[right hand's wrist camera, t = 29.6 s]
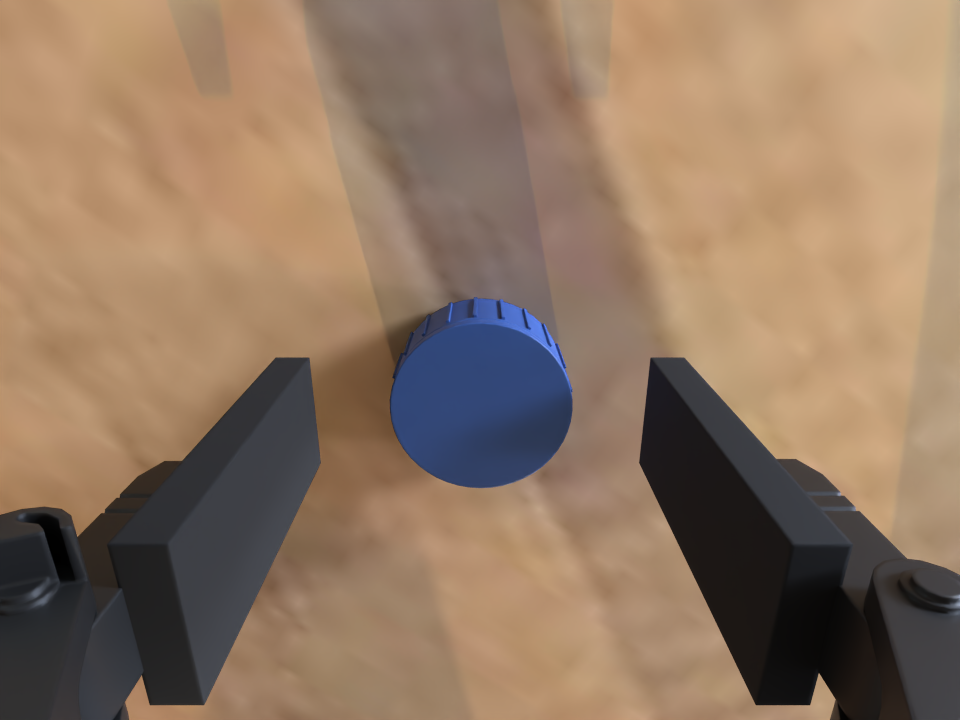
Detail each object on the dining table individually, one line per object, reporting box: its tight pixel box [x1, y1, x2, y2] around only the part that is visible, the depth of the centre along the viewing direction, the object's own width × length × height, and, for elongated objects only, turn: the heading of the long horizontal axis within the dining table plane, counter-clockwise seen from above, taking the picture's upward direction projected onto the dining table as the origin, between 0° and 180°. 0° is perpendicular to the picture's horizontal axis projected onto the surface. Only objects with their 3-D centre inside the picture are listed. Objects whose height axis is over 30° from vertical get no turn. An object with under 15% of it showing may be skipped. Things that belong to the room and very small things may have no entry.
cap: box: [390, 297, 572, 488], centre depth 15 cm, size 4×4×2 cm
